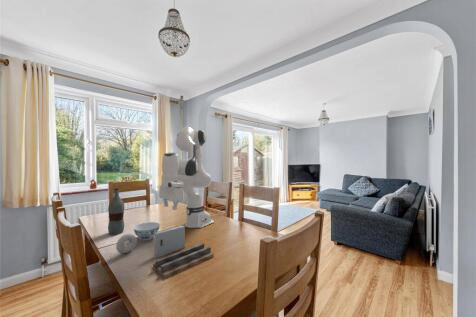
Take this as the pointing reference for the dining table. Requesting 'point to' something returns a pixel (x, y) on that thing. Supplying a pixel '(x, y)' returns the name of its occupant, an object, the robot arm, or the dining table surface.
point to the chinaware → (146, 230)
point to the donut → (122, 240)
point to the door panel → (169, 240)
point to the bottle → (116, 214)
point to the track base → (184, 266)
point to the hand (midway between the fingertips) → (170, 208)
